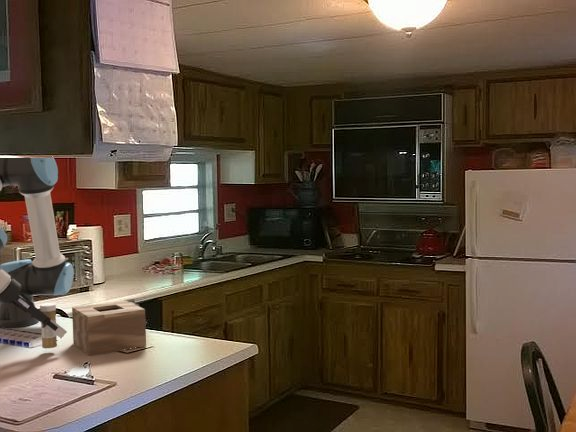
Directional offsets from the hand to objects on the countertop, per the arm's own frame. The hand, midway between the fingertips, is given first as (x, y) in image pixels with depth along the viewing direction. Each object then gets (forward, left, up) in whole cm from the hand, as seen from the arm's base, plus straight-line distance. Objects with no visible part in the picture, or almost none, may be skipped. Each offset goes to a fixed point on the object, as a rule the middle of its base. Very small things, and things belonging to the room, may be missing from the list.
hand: (61, 333), depth 214 cm
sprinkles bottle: (0, -4, -4) cm, 6 cm away
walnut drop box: (+2, +14, -6) cm, 15 cm away
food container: (-14, +26, -6) cm, 30 cm away
